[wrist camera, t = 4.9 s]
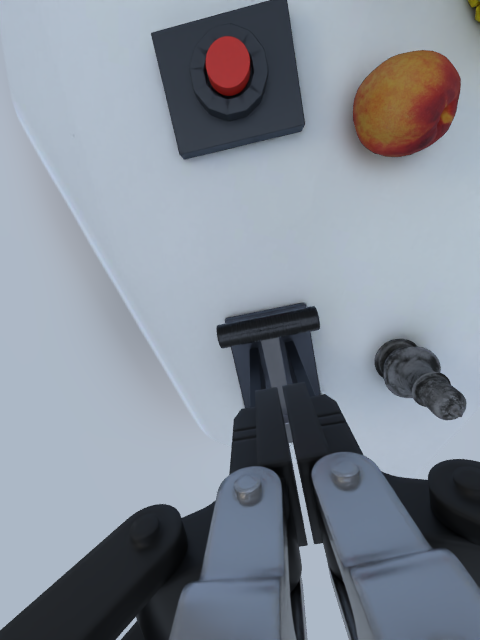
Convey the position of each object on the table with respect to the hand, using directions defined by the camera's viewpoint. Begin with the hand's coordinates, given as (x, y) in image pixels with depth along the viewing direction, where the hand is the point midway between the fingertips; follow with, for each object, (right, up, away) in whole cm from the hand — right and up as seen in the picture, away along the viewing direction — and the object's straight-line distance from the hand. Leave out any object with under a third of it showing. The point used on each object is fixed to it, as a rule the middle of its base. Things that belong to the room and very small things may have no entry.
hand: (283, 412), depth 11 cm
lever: (+1, -1, +14) cm, 14 cm away
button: (-2, +24, +18) cm, 30 cm away
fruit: (+13, +22, +22) cm, 34 cm away
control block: (-2, +25, +21) cm, 33 cm away
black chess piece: (+17, -2, +28) cm, 33 cm away
